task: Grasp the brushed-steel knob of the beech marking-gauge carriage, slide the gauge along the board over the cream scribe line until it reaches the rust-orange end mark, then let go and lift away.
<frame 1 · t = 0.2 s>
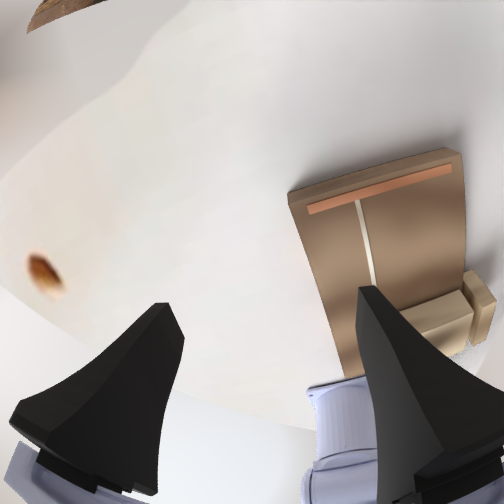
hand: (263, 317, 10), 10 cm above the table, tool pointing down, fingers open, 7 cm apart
gauge: (435, 340, 18), point 5 cm above the table, slide at 0.0 cm
board: (392, 279, 20), on the table
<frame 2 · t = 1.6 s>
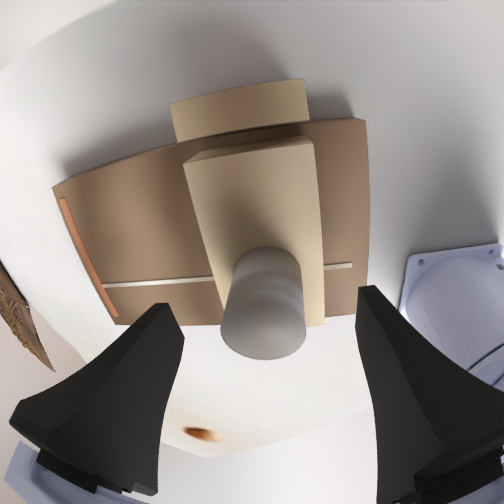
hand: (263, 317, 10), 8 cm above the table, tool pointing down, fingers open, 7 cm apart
gauge: (253, 226, 12), point 5 cm above the table, slide at 0.0 cm
board: (208, 233, 18), on the table
wooden fragment: (16, 308, 27), on the table
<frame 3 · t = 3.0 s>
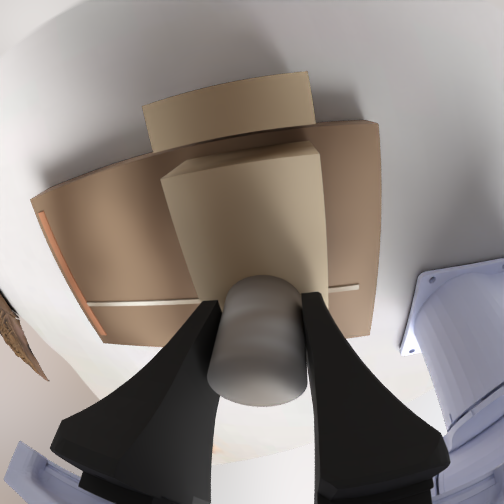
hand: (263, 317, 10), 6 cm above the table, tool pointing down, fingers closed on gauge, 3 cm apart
gauge: (246, 252, 10), point 5 cm above the table, slide at 0.0 cm, touching gripper
board: (198, 250, 16), on the table
wooden fragment: (7, 319, 25), on the table
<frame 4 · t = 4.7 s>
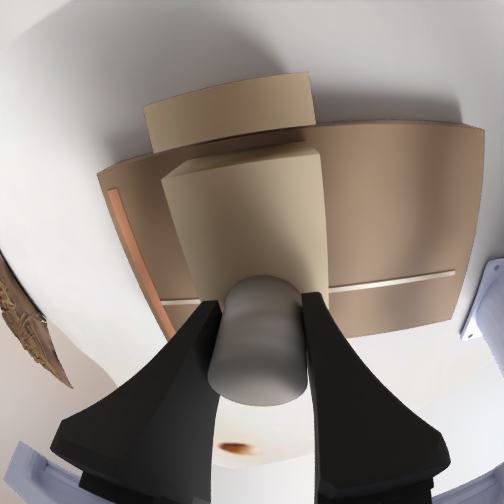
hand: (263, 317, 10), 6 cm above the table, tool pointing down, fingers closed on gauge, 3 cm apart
gauge: (247, 252, 10), point 5 cm above the table, slide at 6.1 cm, touching gripper
board: (307, 238, 15), on the table
wooden fragment: (29, 322, 24), on the table
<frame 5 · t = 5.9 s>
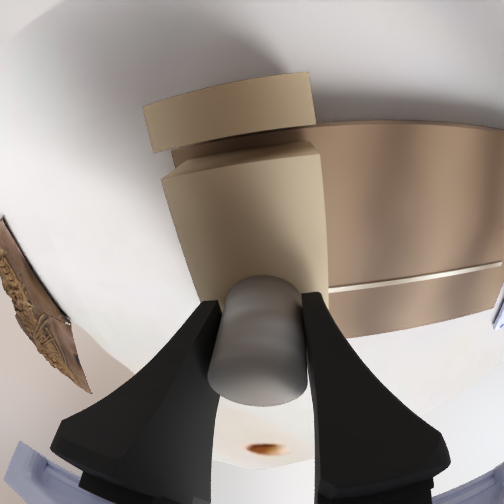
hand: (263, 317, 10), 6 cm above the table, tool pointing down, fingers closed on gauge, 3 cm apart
gauge: (247, 252, 10), point 5 cm above the table, slide at 10.3 cm, touching gripper
board: (382, 230, 14), on the table
wooden fragment: (47, 324, 23), on the table
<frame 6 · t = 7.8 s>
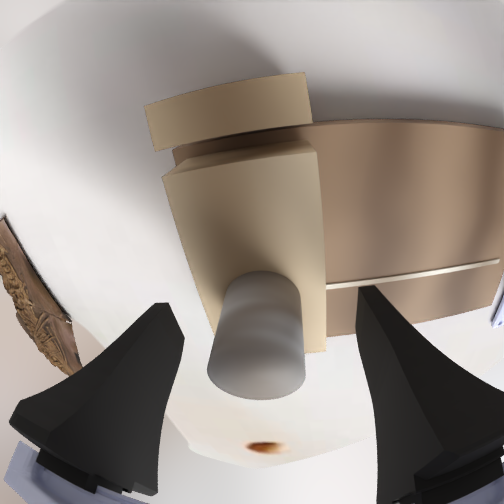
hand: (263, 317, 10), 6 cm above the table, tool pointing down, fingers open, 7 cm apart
gauge: (245, 248, 10), point 5 cm above the table, slide at 10.3 cm
board: (379, 228, 14), on the table
wooden fragment: (47, 322, 23), on the table
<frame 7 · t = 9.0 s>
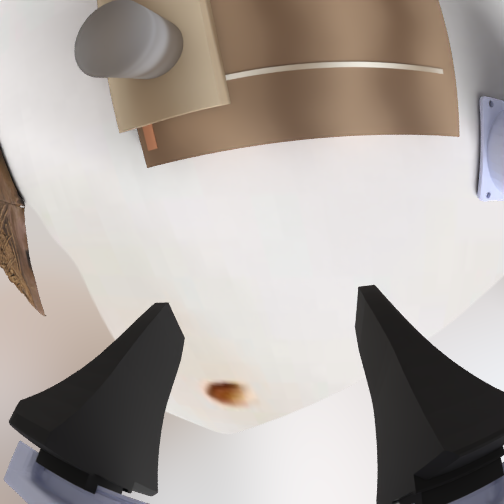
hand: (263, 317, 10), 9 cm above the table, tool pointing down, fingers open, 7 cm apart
gauge: (142, 14, 8), point 5 cm above the table, slide at 10.3 cm
board: (292, 40, 12), on the table
wooden fragment: (8, 223, 21), on the table
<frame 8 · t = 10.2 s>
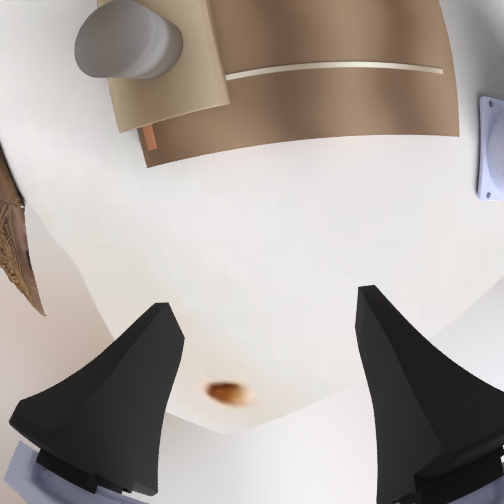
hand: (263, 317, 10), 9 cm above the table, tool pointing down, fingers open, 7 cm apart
gauge: (142, 14, 8), point 5 cm above the table, slide at 10.3 cm
board: (292, 40, 12), on the table
wooden fragment: (8, 223, 21), on the table
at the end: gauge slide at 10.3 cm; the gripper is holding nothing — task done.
